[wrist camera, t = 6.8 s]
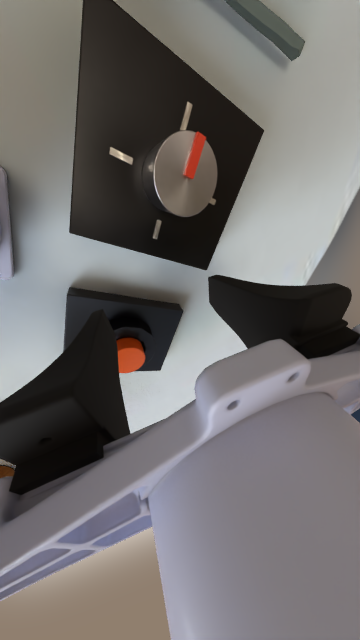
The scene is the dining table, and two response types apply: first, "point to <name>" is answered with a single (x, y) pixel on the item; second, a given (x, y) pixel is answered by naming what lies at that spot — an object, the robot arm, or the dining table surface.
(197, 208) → the oven dial
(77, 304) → the button housing
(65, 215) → the dining table surface
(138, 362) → the button
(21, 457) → the robot arm
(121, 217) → the dial panel
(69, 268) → the dining table surface
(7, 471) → the disposable coffee cup
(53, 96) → the dining table surface
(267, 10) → the green plate with cutlery
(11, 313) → the dining table surface
